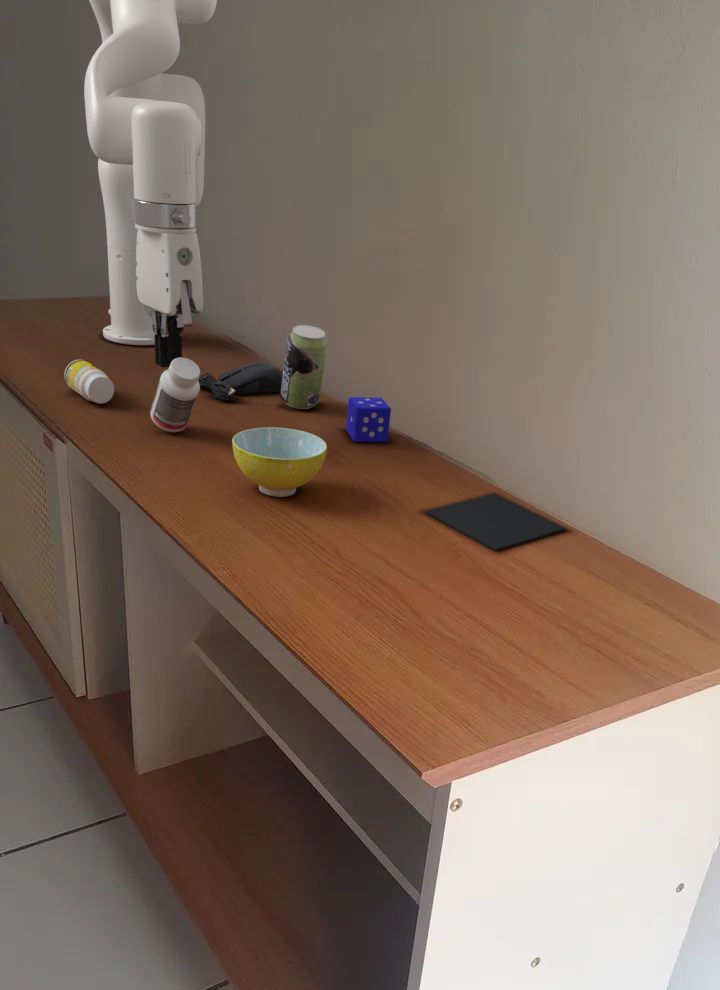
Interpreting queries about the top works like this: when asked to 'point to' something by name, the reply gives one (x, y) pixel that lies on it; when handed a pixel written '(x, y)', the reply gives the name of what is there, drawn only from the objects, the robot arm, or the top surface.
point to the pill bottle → (176, 395)
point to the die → (368, 419)
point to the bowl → (278, 458)
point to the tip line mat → (495, 521)
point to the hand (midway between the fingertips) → (168, 364)
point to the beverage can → (303, 366)
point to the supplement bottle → (89, 381)
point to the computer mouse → (244, 381)
